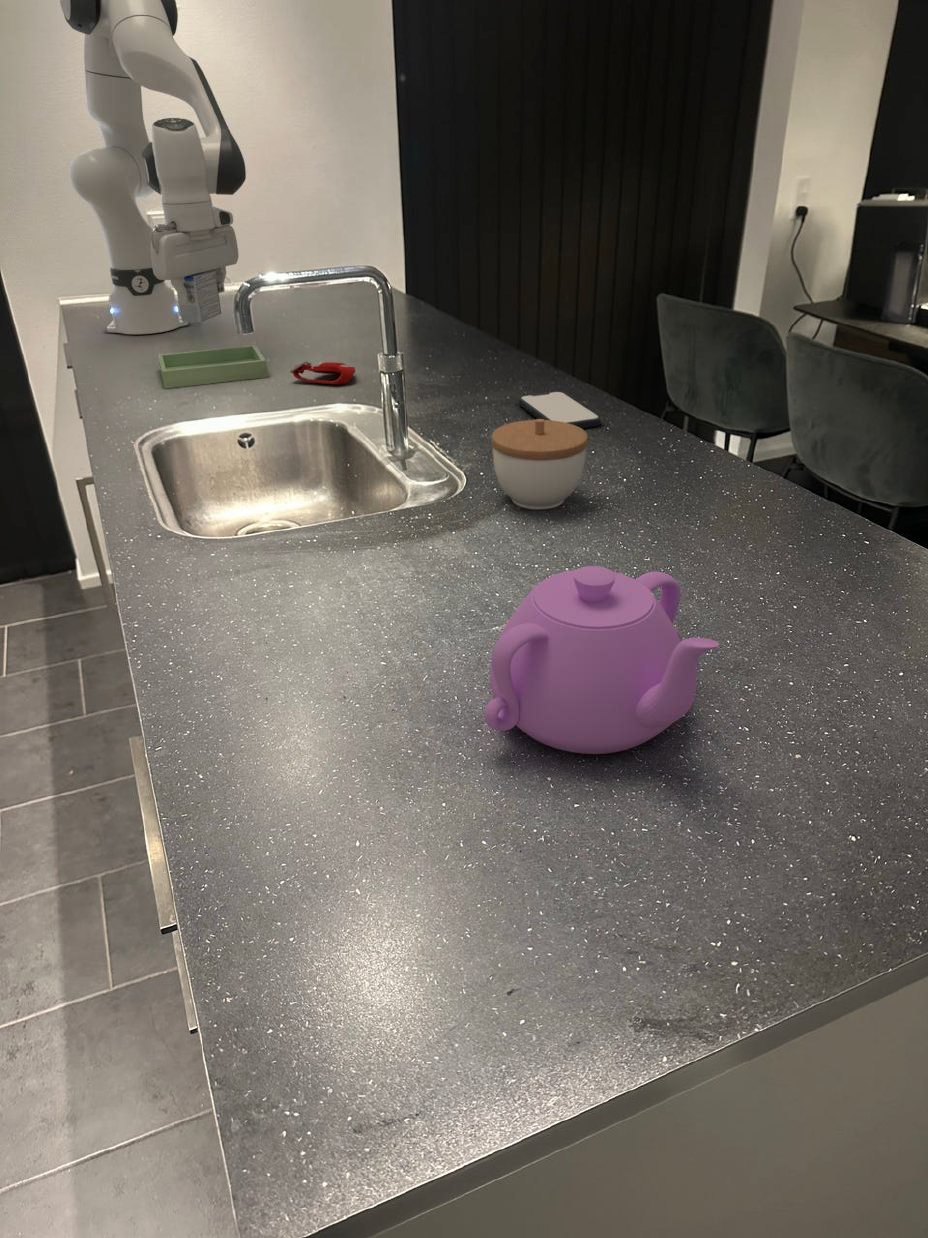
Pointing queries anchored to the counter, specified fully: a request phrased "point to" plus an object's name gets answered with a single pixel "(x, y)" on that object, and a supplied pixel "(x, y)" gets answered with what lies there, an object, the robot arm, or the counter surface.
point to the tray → (212, 366)
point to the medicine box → (201, 297)
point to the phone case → (559, 409)
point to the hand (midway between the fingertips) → (202, 296)
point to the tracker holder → (325, 371)
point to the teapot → (594, 662)
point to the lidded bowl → (539, 461)
